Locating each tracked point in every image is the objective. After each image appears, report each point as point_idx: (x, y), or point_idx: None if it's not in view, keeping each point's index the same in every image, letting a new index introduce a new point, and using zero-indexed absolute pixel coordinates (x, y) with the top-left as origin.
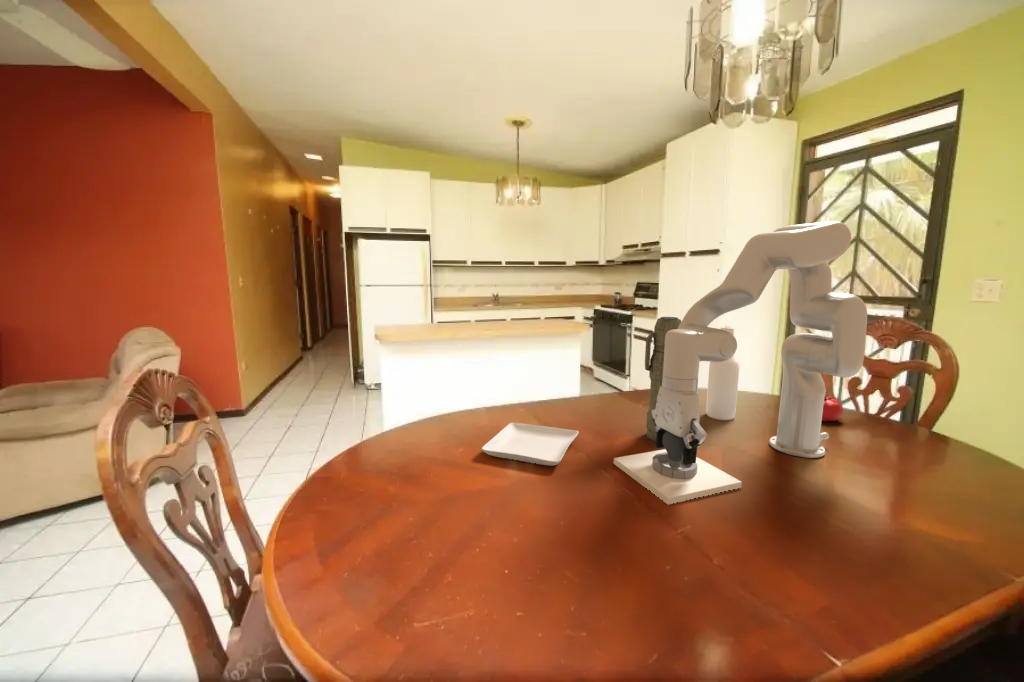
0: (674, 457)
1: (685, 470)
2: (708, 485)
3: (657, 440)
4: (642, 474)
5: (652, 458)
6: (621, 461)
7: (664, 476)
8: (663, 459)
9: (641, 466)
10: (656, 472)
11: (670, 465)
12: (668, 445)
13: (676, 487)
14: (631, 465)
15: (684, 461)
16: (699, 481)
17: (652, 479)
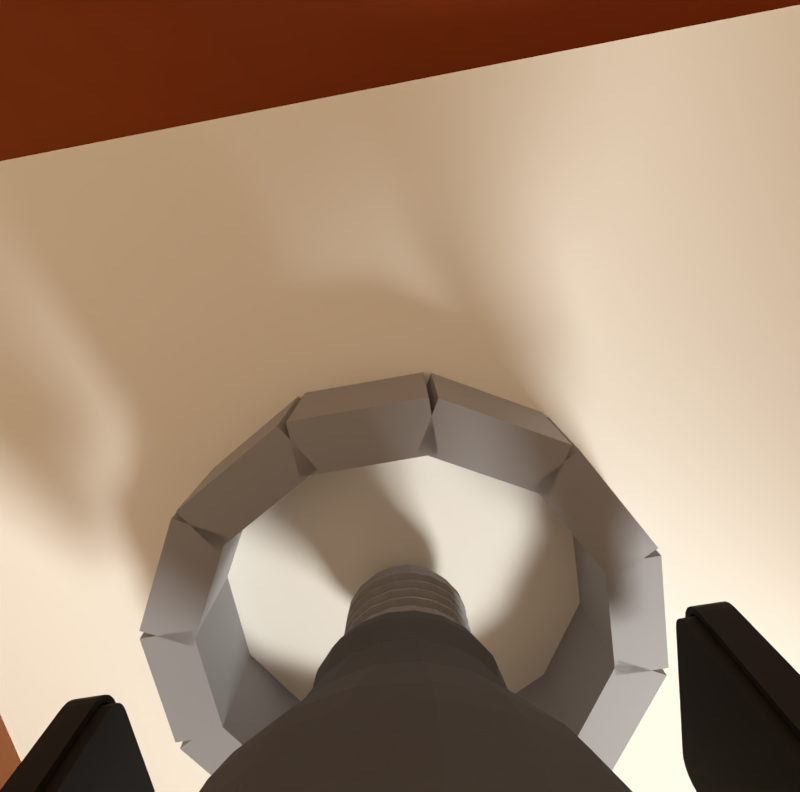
0: (321, 678)
1: (157, 650)
2: (53, 713)
3: (781, 705)
4: (342, 177)
5: (696, 498)
6: (747, 58)
7: (260, 412)
8: (589, 584)
9: (545, 270)
10: (363, 372)
11: (392, 573)
12: (278, 775)
13: (17, 414)
14: (601, 149)
15: (50, 730)
16: (133, 682)
17: (208, 241)
